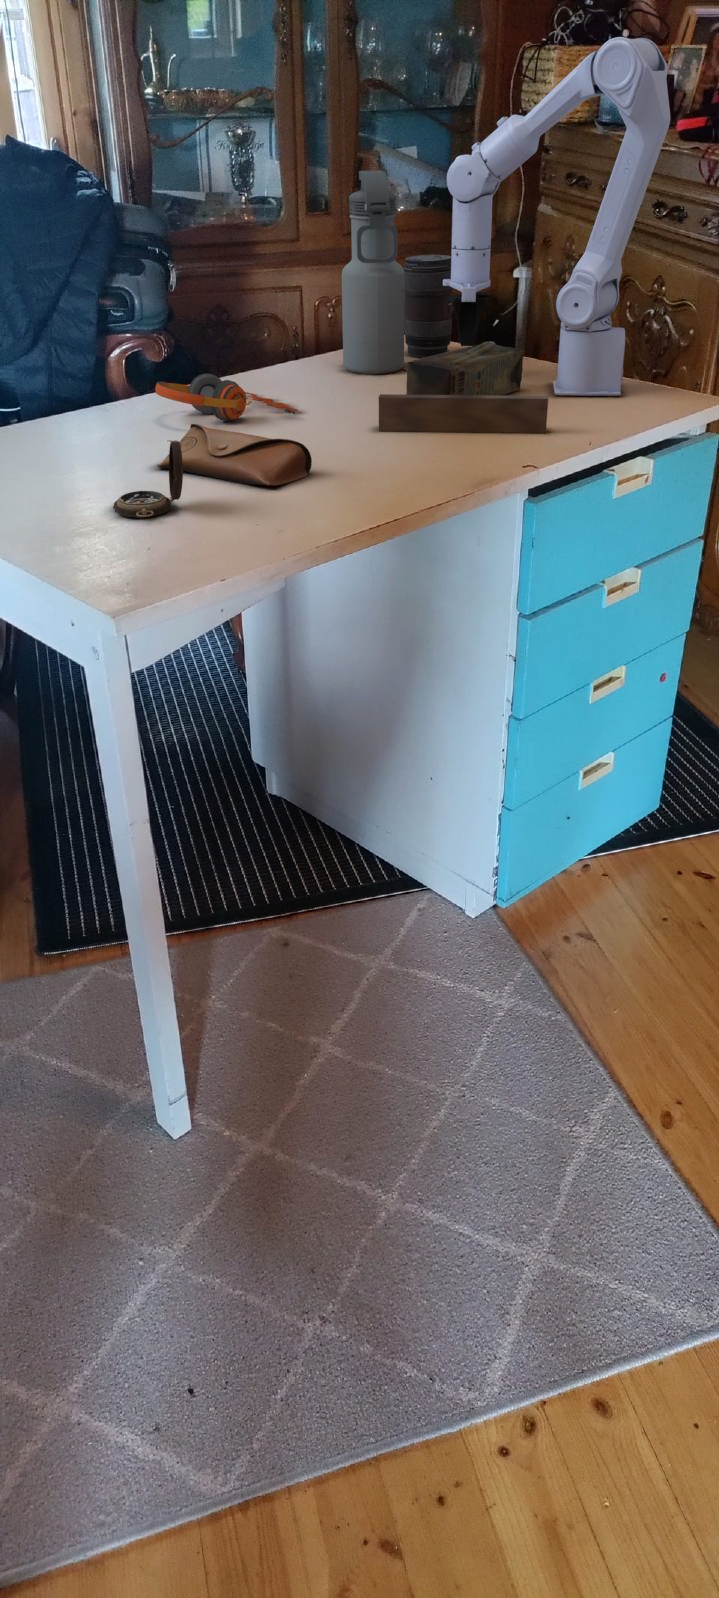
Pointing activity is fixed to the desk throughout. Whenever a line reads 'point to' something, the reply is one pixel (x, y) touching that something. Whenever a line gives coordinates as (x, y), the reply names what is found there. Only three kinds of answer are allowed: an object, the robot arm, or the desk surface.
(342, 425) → the desk surface
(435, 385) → the beverage carton
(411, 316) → the camera lens
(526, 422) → the backstop rail
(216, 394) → the headphones
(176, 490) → the compass
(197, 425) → the sunglasses case
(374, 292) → the water bottle
